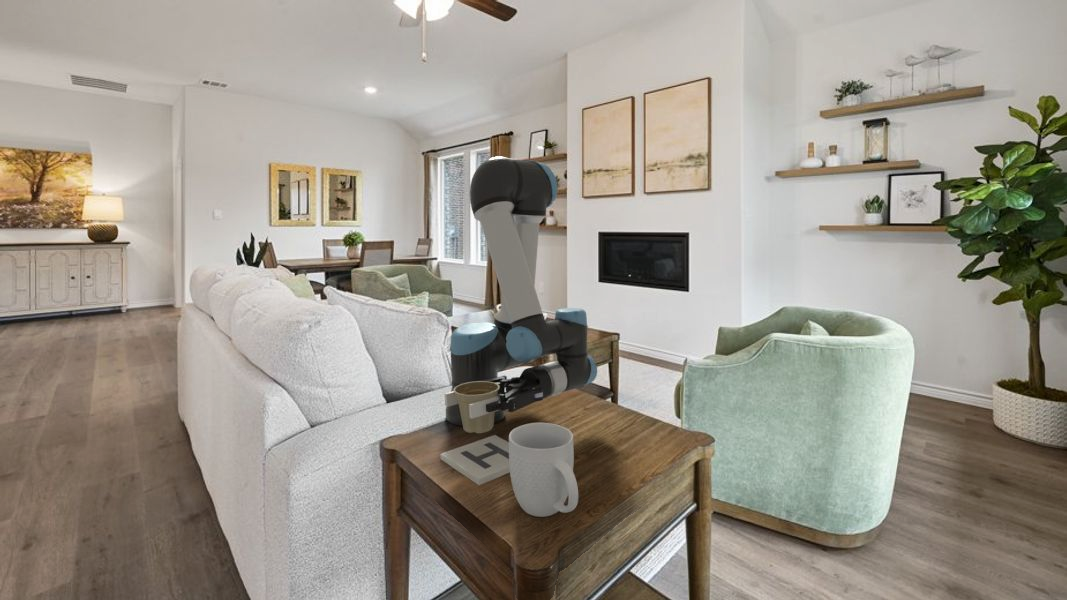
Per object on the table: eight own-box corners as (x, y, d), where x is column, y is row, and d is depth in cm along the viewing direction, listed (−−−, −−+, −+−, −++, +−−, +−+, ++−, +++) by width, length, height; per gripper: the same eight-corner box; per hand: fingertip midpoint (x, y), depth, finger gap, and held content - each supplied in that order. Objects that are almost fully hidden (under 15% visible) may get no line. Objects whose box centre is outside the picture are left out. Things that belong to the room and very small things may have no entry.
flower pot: (445, 431, 99) (443, 390, 98) (474, 416, 107) (473, 378, 106) (482, 440, 94) (480, 397, 93) (509, 424, 102) (508, 384, 101)
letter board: (440, 459, 102) (440, 453, 102) (494, 439, 111) (494, 434, 111) (478, 485, 91) (478, 479, 91) (535, 461, 100) (535, 456, 100)
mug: (601, 522, 80) (602, 447, 78) (546, 547, 74) (546, 465, 72) (548, 483, 92) (548, 417, 90) (497, 501, 86) (496, 431, 84)
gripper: (575, 408, 104) (489, 439, 89) (513, 387, 120) (432, 410, 105) (575, 374, 103) (488, 400, 88) (513, 357, 119) (430, 376, 104)
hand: (457, 405), depth 97 cm, fingers closed on flower pot, 8 cm apart
